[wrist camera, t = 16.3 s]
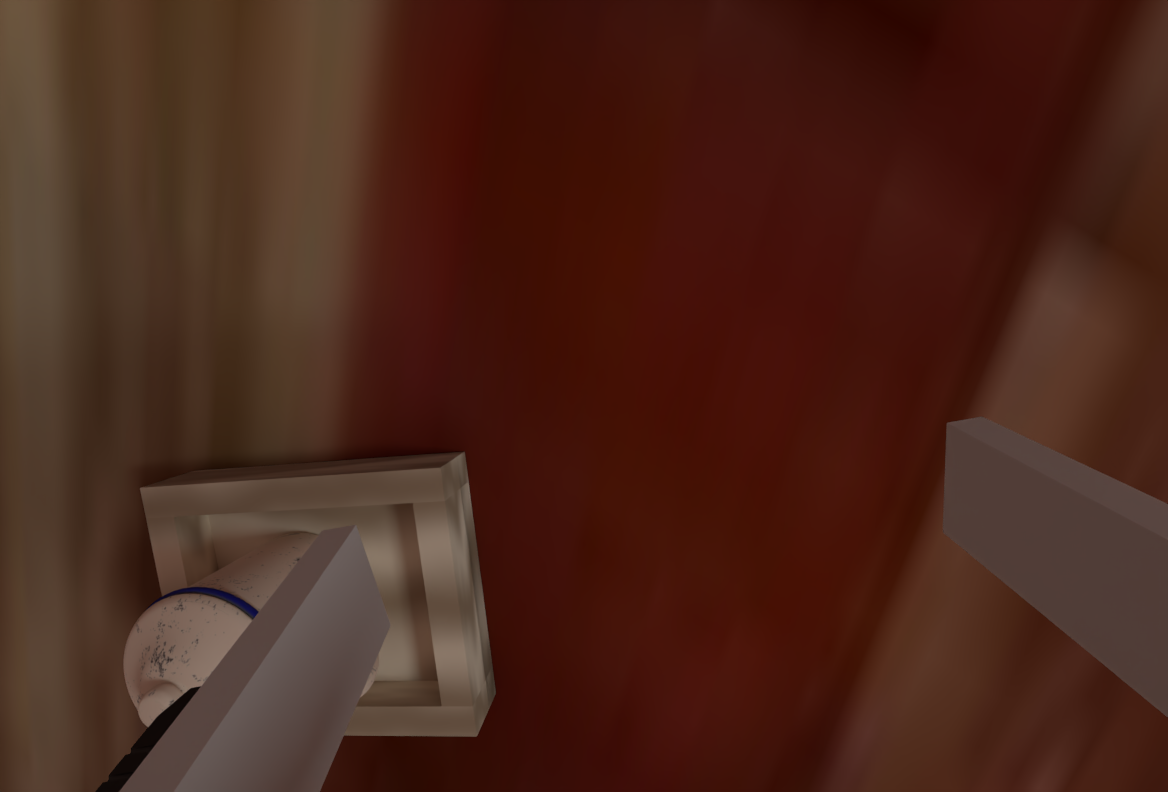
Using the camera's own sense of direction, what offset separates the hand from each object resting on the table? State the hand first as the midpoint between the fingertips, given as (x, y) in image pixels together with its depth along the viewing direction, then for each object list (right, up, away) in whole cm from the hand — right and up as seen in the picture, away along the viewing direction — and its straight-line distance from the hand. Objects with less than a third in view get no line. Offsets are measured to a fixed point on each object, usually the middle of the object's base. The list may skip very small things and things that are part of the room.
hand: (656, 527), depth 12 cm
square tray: (-18, -10, +26) cm, 33 cm away
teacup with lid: (-19, -11, +25) cm, 33 cm away
